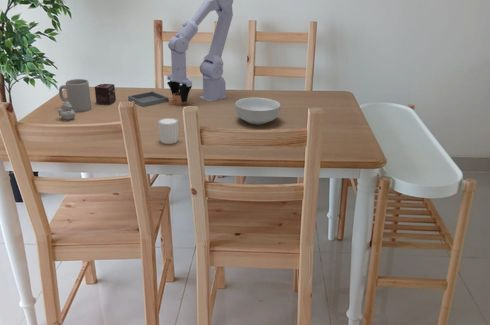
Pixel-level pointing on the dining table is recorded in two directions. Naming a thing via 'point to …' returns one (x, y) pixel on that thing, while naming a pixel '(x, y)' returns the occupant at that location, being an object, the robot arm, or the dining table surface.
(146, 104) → the tray
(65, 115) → the grey stacked lumpy shape
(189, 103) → the stake
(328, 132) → the dining table surface
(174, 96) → the ring
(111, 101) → the box
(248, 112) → the cereal bowl
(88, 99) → the mug
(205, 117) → the dining table surface
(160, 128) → the white ribbed cylinder
